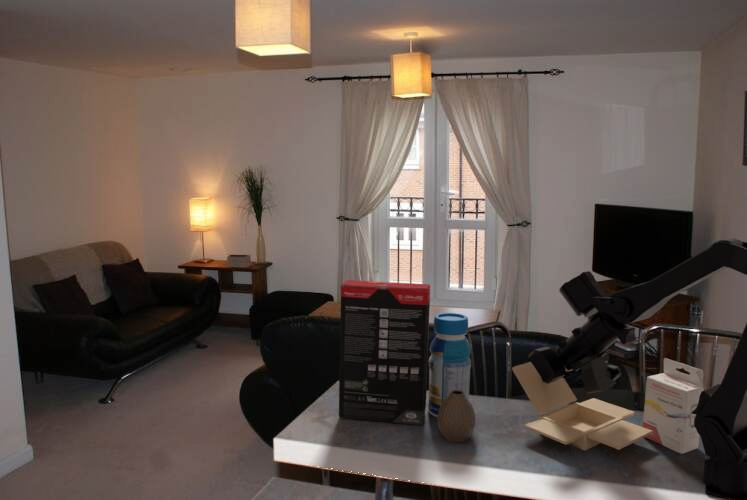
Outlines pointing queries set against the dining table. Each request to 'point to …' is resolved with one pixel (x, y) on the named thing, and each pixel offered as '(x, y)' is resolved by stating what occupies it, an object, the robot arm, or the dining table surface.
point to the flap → (543, 389)
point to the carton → (589, 425)
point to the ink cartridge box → (673, 406)
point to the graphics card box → (384, 351)
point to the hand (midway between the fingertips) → (543, 380)
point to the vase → (456, 417)
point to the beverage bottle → (448, 359)
